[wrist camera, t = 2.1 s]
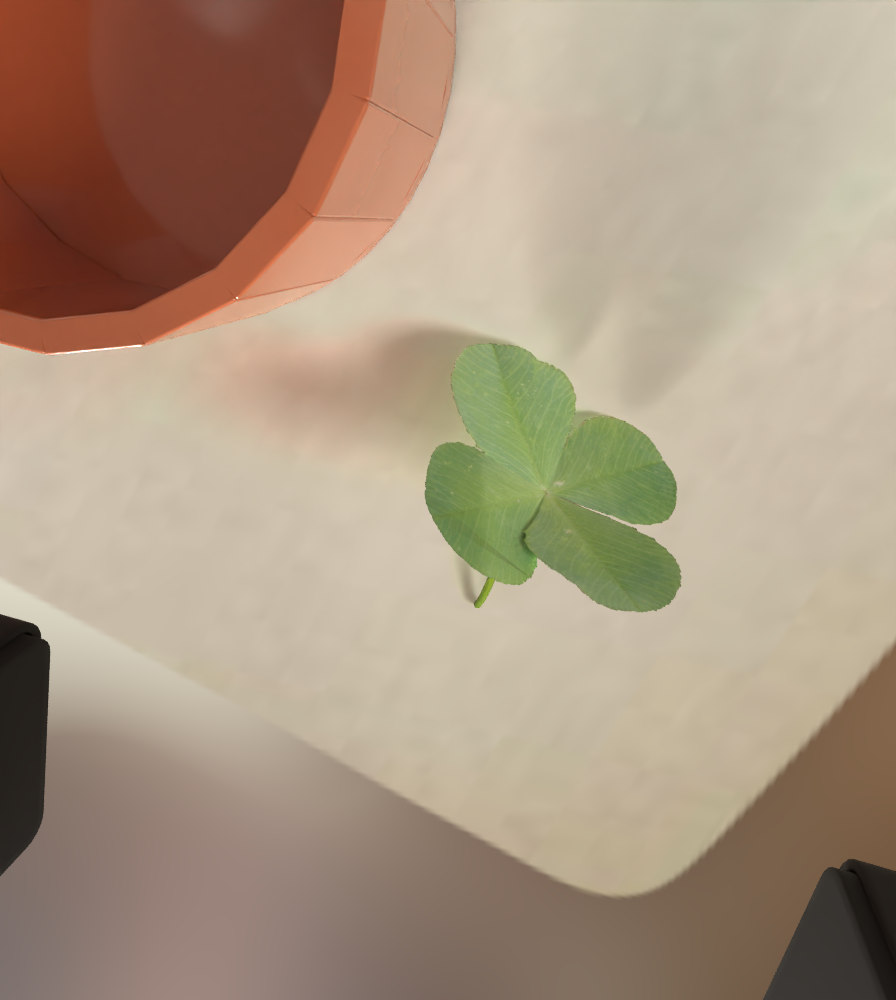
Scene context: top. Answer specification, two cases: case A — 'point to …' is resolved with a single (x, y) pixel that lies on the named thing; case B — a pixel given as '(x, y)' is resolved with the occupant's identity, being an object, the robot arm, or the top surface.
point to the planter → (203, 156)
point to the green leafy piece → (550, 486)
